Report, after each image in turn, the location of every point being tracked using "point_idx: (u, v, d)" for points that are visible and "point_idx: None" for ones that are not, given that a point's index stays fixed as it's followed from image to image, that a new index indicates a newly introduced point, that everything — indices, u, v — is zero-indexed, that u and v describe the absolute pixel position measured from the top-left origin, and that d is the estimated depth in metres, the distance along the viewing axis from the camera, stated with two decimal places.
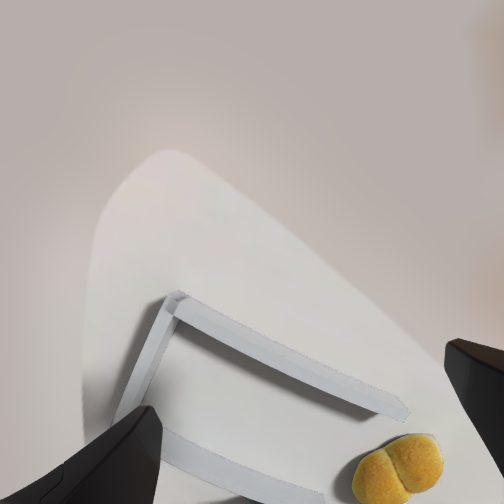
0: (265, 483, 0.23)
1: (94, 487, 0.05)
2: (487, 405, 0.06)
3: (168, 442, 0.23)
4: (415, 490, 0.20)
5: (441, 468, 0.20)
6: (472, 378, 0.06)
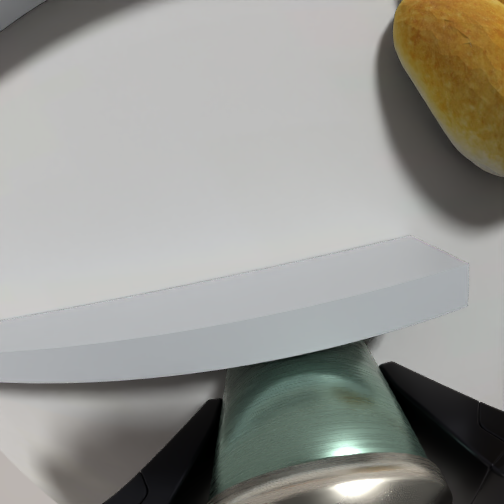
0: (190, 299, 0.08)
1: (183, 495, 0.05)
2: None
3: None
4: None
5: None
6: None
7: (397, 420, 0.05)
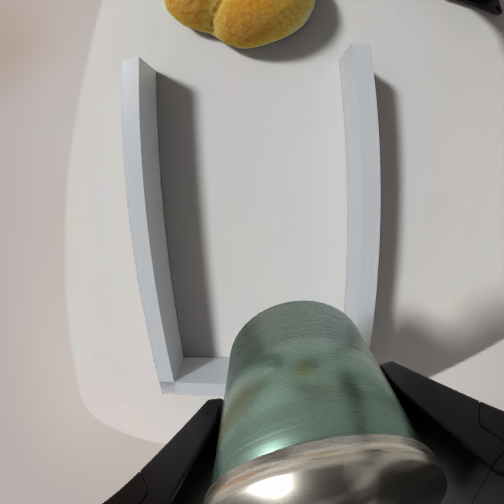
0: (352, 158, 0.17)
1: (183, 495, 0.05)
2: None
3: (351, 314, 0.19)
4: None
5: None
6: None
7: (392, 406, 0.05)
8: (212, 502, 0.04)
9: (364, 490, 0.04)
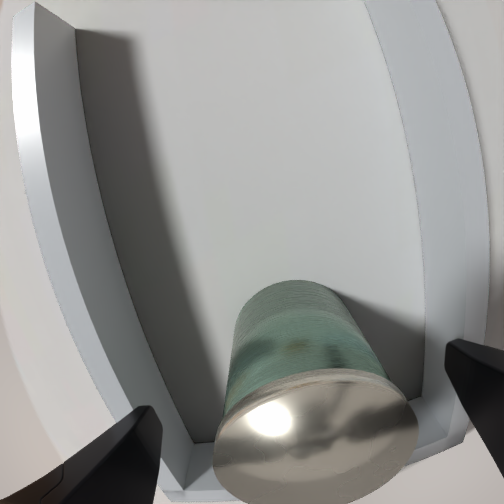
0: (412, 91, 0.08)
1: (95, 487, 0.05)
2: (487, 405, 0.06)
3: (443, 349, 0.10)
4: None
5: None
6: (472, 378, 0.06)
7: (368, 356, 0.07)
8: (224, 428, 0.06)
9: (345, 416, 0.05)
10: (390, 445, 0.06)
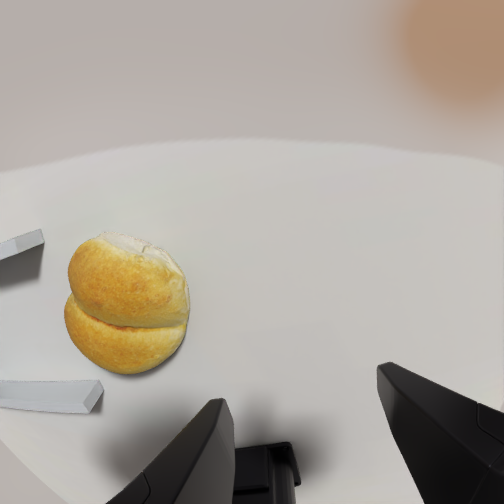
0: (37, 389, 0.21)
1: (186, 495, 0.05)
2: (410, 439, 0.06)
3: None
4: (132, 323, 0.17)
5: (131, 269, 0.16)
6: (396, 408, 0.07)
7: None
8: None
9: None
10: None
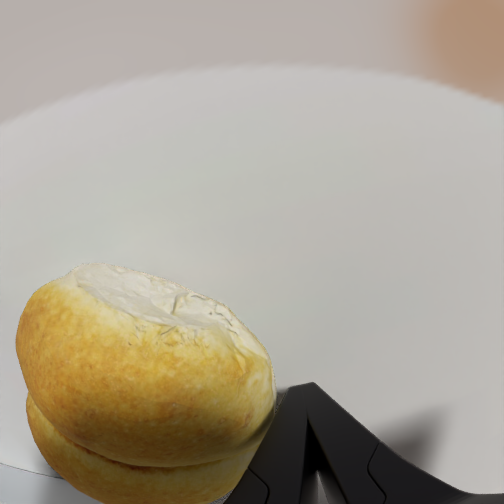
0: (21, 485, 0.11)
1: None
2: (319, 464, 0.06)
3: None
4: (163, 465, 0.07)
5: (154, 369, 0.06)
6: None
7: None
8: None
9: None
10: None
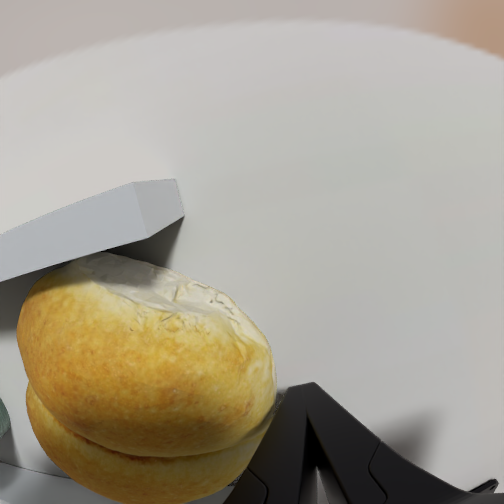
0: None
1: None
2: (319, 464, 0.06)
3: (7, 484, 0.10)
4: (163, 455, 0.07)
5: (155, 354, 0.06)
6: None
7: None
8: None
9: None
10: None
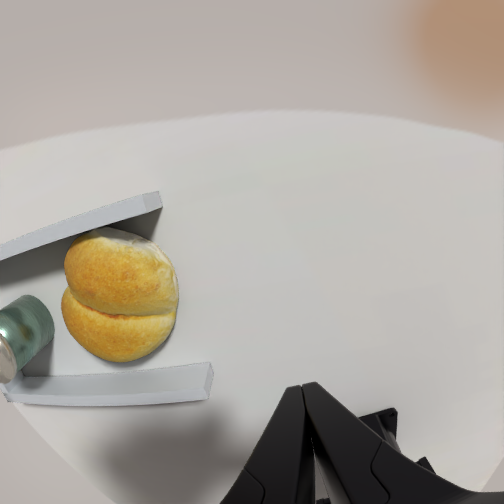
0: (127, 380, 0.21)
1: None
2: (321, 464, 0.06)
3: (41, 386, 0.21)
4: (123, 310, 0.18)
5: (122, 259, 0.17)
6: (311, 430, 0.07)
7: (23, 363, 0.17)
8: None
9: (4, 363, 0.16)
10: None
